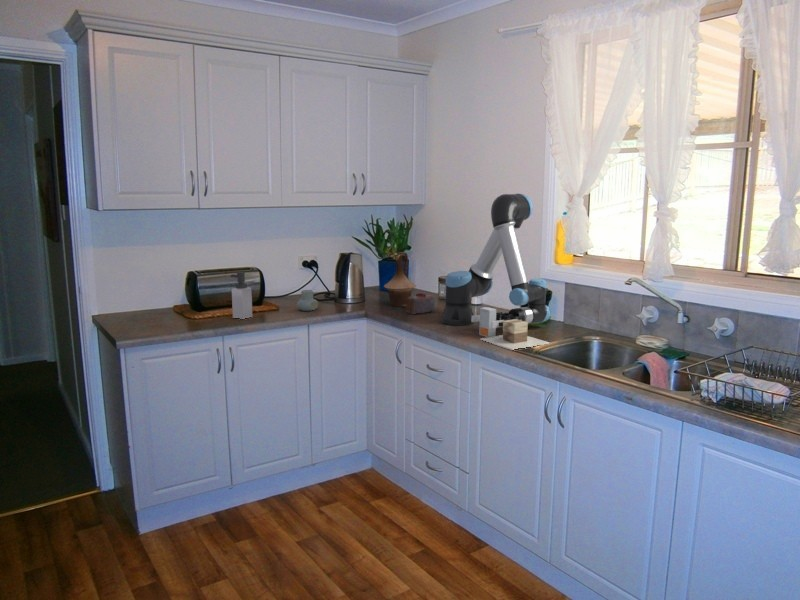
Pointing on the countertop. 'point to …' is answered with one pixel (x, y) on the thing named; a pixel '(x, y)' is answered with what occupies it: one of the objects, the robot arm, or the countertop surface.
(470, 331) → the countertop surface
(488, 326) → the skincare box
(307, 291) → the air freshener
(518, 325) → the upper block
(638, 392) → the countertop surface
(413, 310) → the food item
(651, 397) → the countertop surface
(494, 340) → the plate
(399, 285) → the brown vase
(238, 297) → the soap dispenser
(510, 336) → the lower block
